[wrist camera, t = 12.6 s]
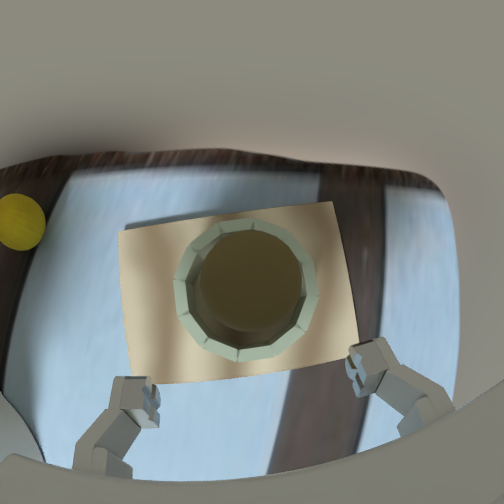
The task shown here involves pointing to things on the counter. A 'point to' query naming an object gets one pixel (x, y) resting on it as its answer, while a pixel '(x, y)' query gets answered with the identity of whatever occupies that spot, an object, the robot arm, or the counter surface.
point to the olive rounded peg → (250, 281)
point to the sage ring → (187, 302)
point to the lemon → (20, 222)
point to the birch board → (179, 339)
